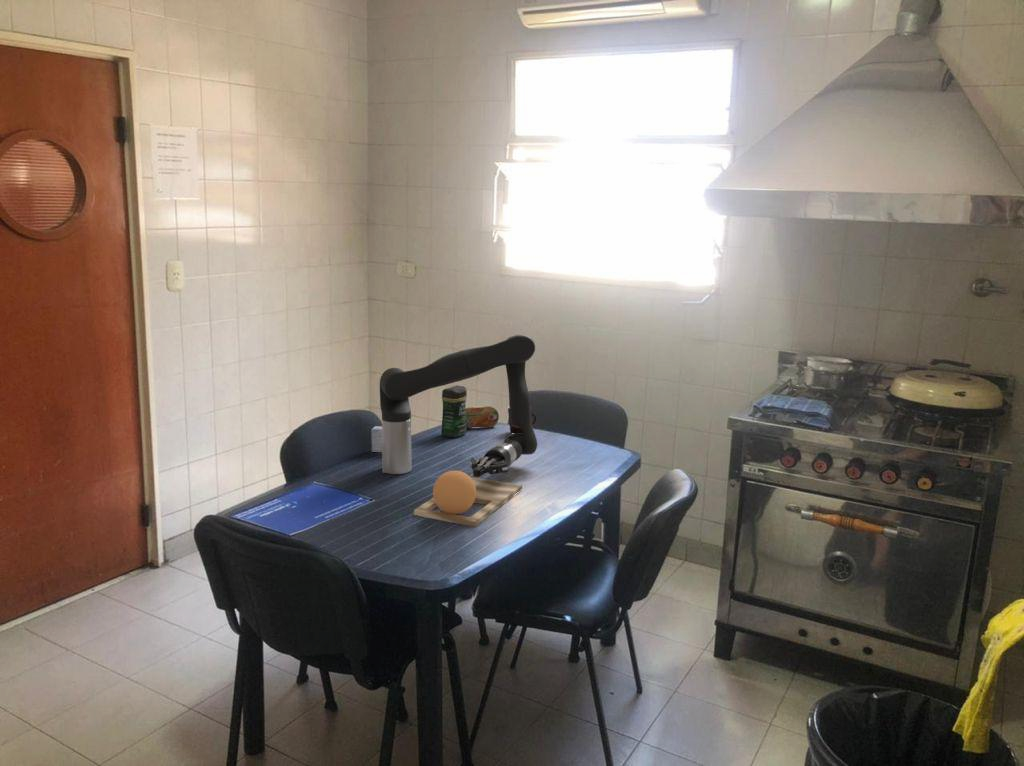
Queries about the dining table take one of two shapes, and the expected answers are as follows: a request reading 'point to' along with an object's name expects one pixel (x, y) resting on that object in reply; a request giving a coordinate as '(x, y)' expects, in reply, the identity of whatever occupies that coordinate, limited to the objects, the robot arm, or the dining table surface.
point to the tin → (481, 416)
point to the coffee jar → (454, 411)
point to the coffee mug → (514, 428)
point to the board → (485, 494)
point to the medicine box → (377, 439)
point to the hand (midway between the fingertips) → (476, 473)
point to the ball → (454, 492)
